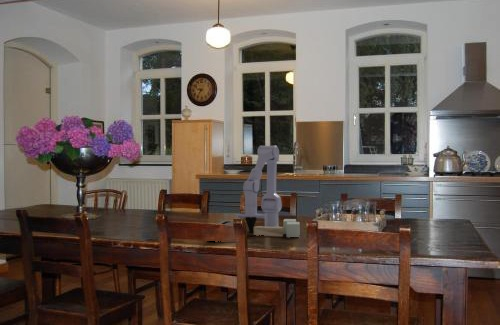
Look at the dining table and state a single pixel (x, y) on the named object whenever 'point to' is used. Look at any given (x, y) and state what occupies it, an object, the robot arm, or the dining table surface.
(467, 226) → the dining table surface
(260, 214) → the robot arm
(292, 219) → the pale green block
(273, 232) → the beige rectangular bar
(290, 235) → the end cap
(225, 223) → the hinge
